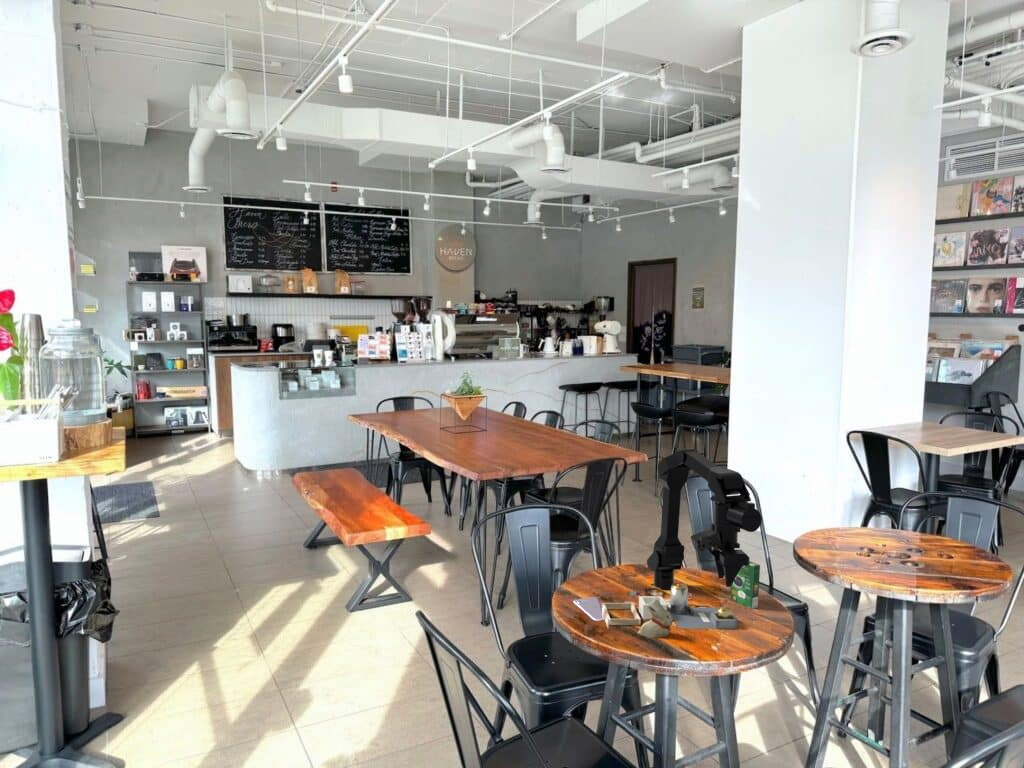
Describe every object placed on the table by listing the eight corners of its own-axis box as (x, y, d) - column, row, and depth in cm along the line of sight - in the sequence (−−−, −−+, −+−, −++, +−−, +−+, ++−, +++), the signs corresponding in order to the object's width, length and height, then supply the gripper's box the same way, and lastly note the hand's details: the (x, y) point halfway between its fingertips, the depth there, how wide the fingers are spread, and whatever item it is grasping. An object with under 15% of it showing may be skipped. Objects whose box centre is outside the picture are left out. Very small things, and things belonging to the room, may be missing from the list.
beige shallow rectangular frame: (602, 612, 193) (602, 602, 193) (632, 612, 193) (632, 602, 193) (608, 629, 182) (608, 619, 182) (640, 629, 182) (640, 619, 182)
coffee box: (759, 611, 194) (761, 564, 193) (752, 613, 193) (753, 565, 192) (737, 601, 201) (738, 555, 200) (729, 603, 200) (730, 557, 199)
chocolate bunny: (664, 646, 172) (665, 606, 171) (634, 638, 177) (635, 598, 176) (674, 639, 176) (674, 599, 176) (645, 631, 181) (645, 592, 180)
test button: (715, 615, 184) (716, 606, 184) (728, 615, 184) (728, 606, 184) (719, 620, 181) (719, 610, 181) (732, 620, 181) (732, 610, 181)
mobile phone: (594, 619, 187) (571, 598, 201) (594, 622, 187) (571, 602, 201) (621, 615, 189) (596, 595, 203) (621, 619, 189) (596, 599, 204)
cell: (668, 608, 193) (669, 581, 192) (685, 608, 193) (685, 581, 192) (672, 614, 188) (673, 587, 188) (689, 614, 188) (689, 587, 188)
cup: (638, 614, 191) (639, 596, 191) (661, 614, 192) (661, 596, 191) (643, 623, 185) (643, 604, 185) (666, 623, 186) (666, 604, 185)
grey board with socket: (664, 611, 194) (664, 600, 193) (721, 611, 194) (721, 600, 194) (677, 633, 180) (677, 620, 179) (738, 633, 180) (738, 620, 180)
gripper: (684, 512, 190) (683, 570, 191) (704, 531, 171) (703, 595, 172) (726, 512, 190) (725, 570, 191) (751, 531, 172) (749, 595, 173)
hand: (724, 582), depth 182 cm, fingers open, 6 cm apart
